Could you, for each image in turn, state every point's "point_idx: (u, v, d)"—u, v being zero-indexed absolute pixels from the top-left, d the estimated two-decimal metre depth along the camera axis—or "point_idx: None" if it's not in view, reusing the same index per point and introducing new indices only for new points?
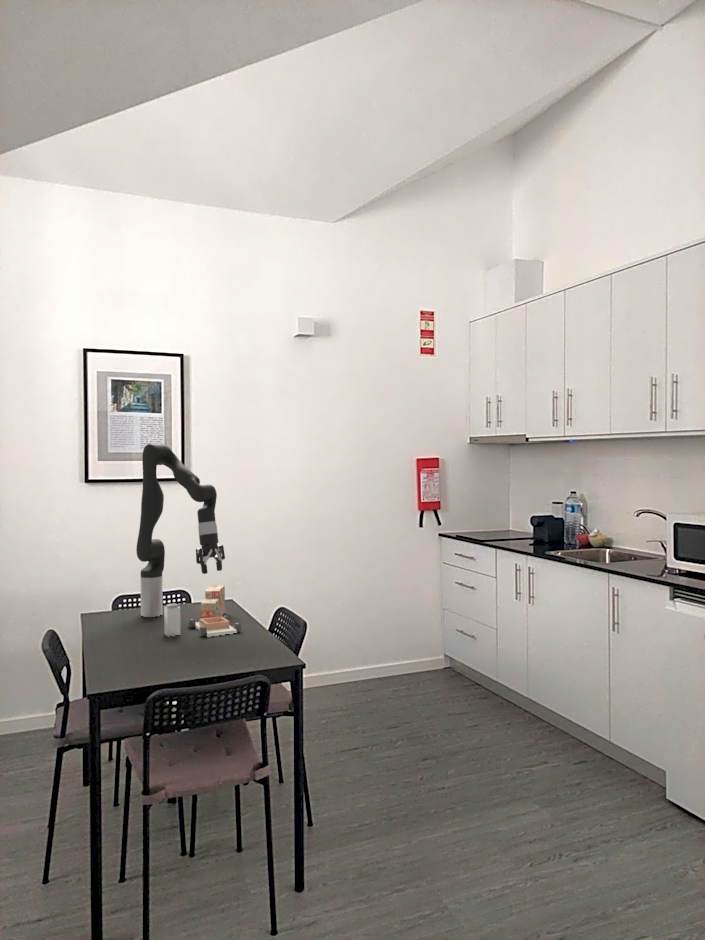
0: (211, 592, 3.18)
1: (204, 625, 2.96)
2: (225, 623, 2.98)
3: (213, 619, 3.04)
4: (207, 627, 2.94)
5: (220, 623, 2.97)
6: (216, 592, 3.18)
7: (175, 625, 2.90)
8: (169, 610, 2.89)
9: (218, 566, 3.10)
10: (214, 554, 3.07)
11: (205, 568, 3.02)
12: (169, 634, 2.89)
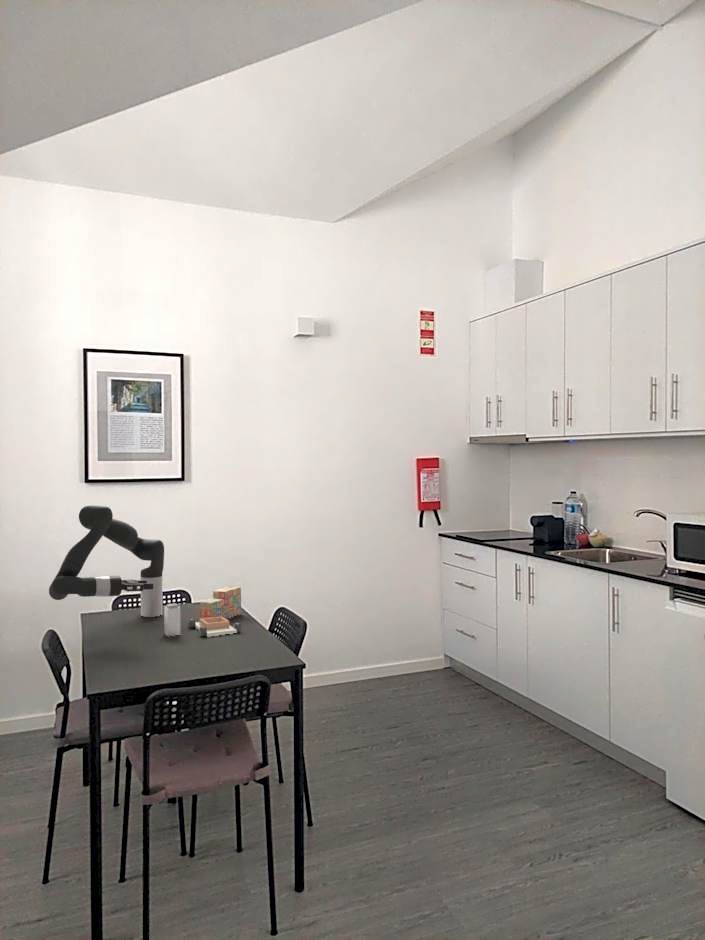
0: (218, 592, 3.19)
1: (204, 625, 2.96)
2: (225, 623, 2.98)
3: (213, 619, 3.04)
4: (207, 627, 2.94)
5: (220, 623, 2.97)
6: (222, 593, 3.18)
7: (175, 625, 2.90)
8: (169, 610, 2.89)
9: None
10: None
11: None
12: (169, 634, 2.89)
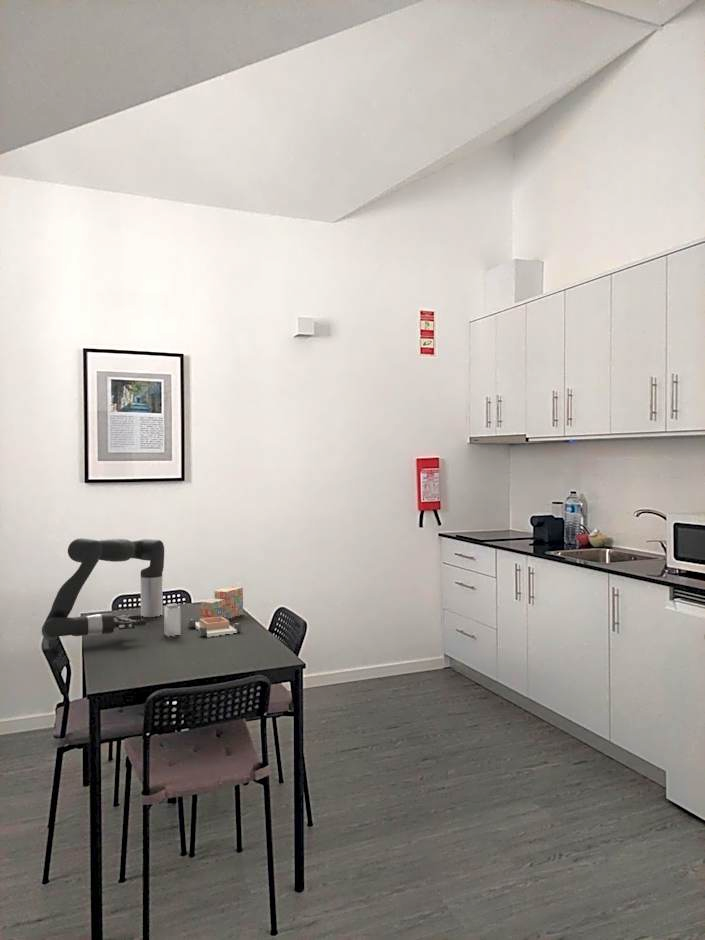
0: (219, 592, 3.19)
1: (204, 625, 2.96)
2: (225, 623, 2.98)
3: (213, 619, 3.04)
4: (207, 627, 2.94)
5: (220, 623, 2.97)
6: (223, 593, 3.18)
7: (175, 625, 2.90)
8: (169, 610, 2.89)
9: None
10: None
11: None
12: (169, 634, 2.89)
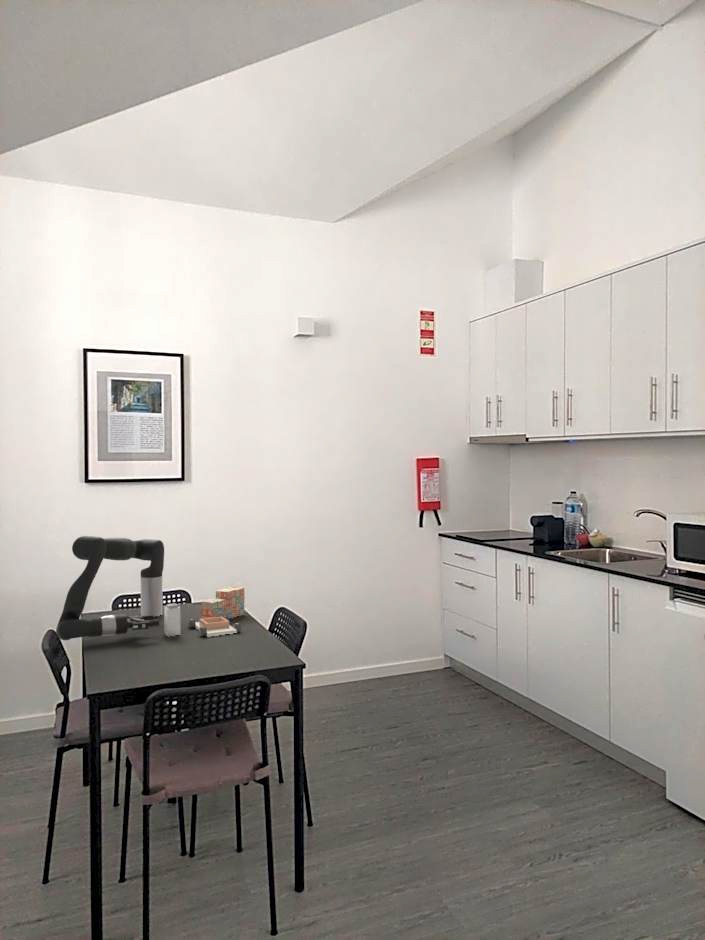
0: (220, 592, 3.19)
1: (204, 625, 2.96)
2: (225, 623, 2.98)
3: (213, 619, 3.04)
4: (207, 627, 2.94)
5: (220, 623, 2.97)
6: (224, 593, 3.18)
7: (175, 625, 2.90)
8: (169, 610, 2.89)
9: None
10: None
11: None
12: (169, 634, 2.89)
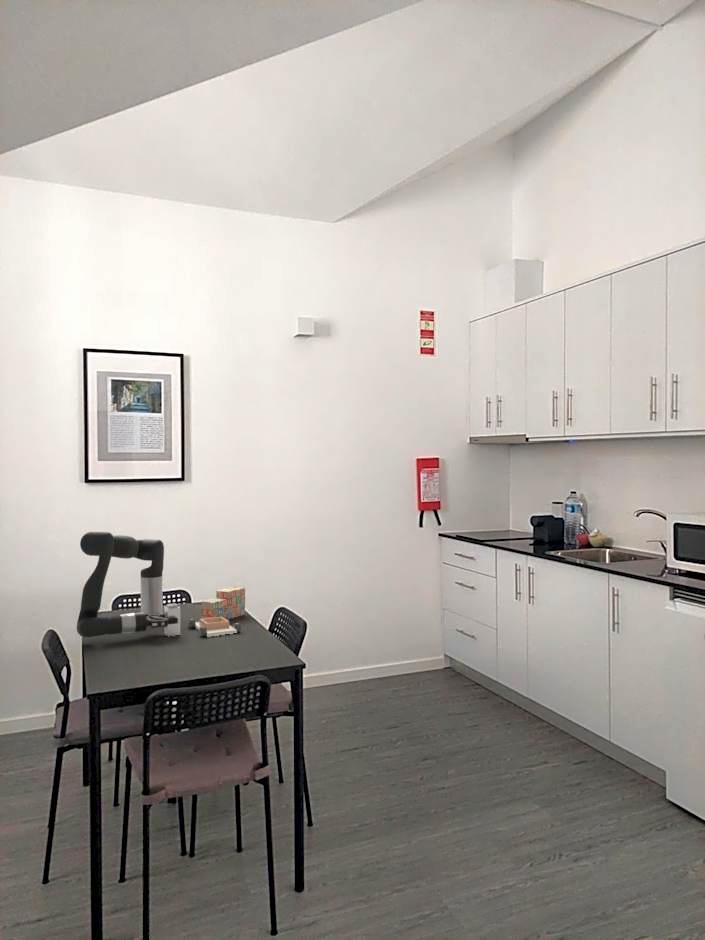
0: (221, 592, 3.19)
1: (204, 625, 2.96)
2: (225, 623, 2.98)
3: (213, 619, 3.04)
4: (207, 627, 2.94)
5: (220, 623, 2.97)
6: (225, 593, 3.18)
7: (175, 625, 2.90)
8: (169, 610, 2.89)
9: None
10: None
11: None
12: (169, 634, 2.89)
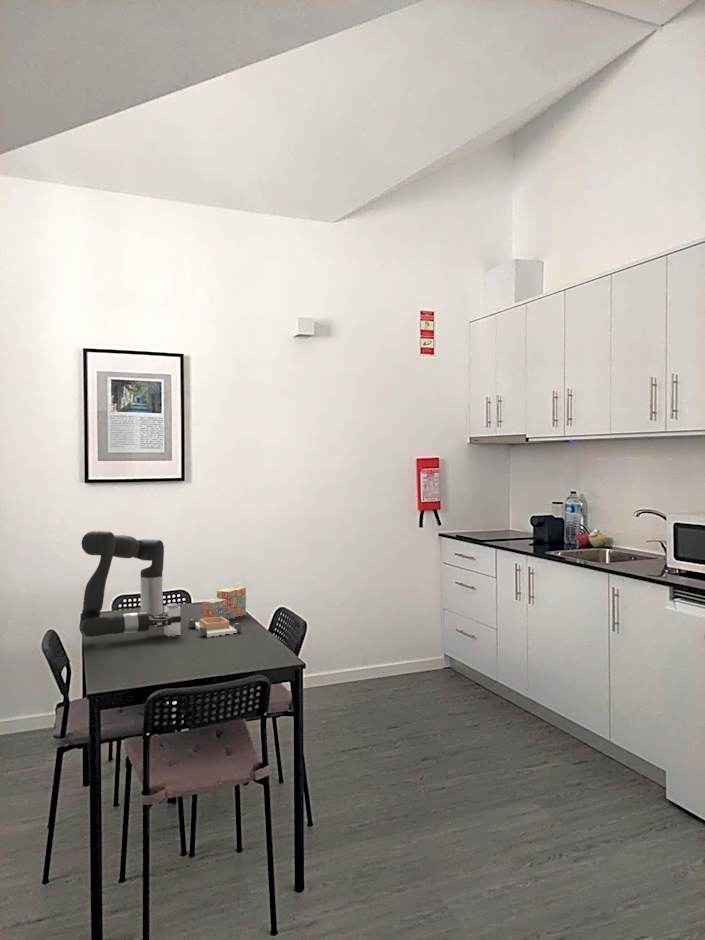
0: (221, 592, 3.19)
1: (204, 625, 2.96)
2: (225, 623, 2.98)
3: (213, 619, 3.04)
4: (207, 627, 2.94)
5: (220, 623, 2.97)
6: (225, 593, 3.18)
7: (175, 625, 2.90)
8: (169, 610, 2.89)
9: None
10: None
11: None
12: (169, 634, 2.89)
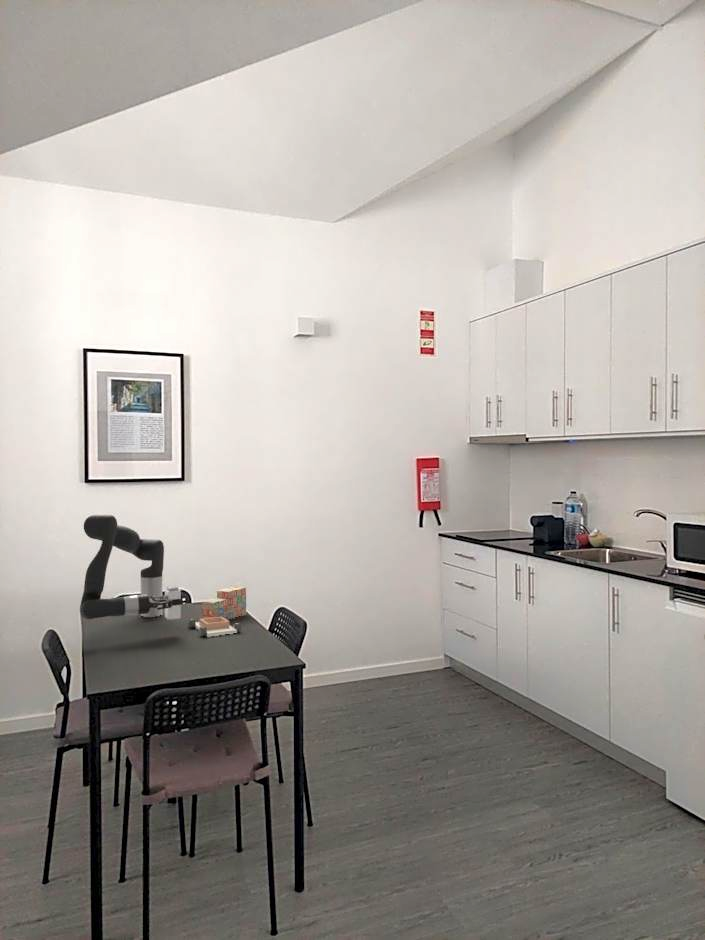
0: (221, 592, 3.19)
1: (204, 625, 2.96)
2: (225, 623, 2.98)
3: (213, 619, 3.04)
4: (207, 627, 2.94)
5: (220, 623, 2.97)
6: (225, 593, 3.18)
7: (176, 607, 2.90)
8: (169, 593, 2.89)
9: None
10: None
11: None
12: (169, 617, 2.89)
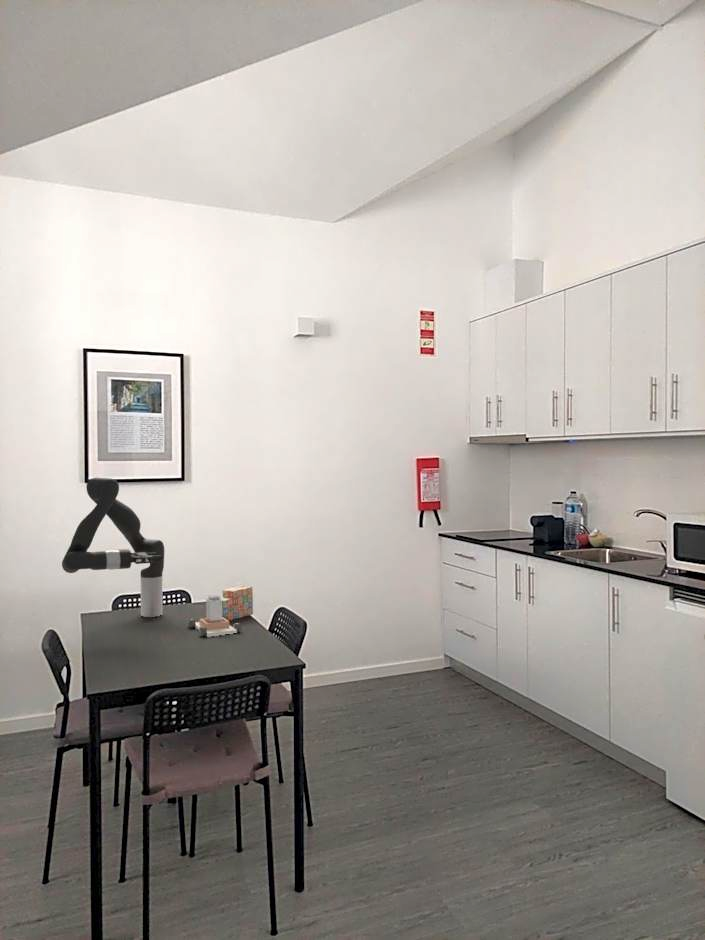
0: (227, 592, 3.20)
1: (204, 625, 2.96)
2: (225, 623, 2.98)
3: None
4: (207, 627, 2.94)
5: (220, 623, 2.97)
6: (231, 592, 3.19)
7: (217, 616, 2.98)
8: (211, 602, 2.97)
9: None
10: None
11: None
12: None
